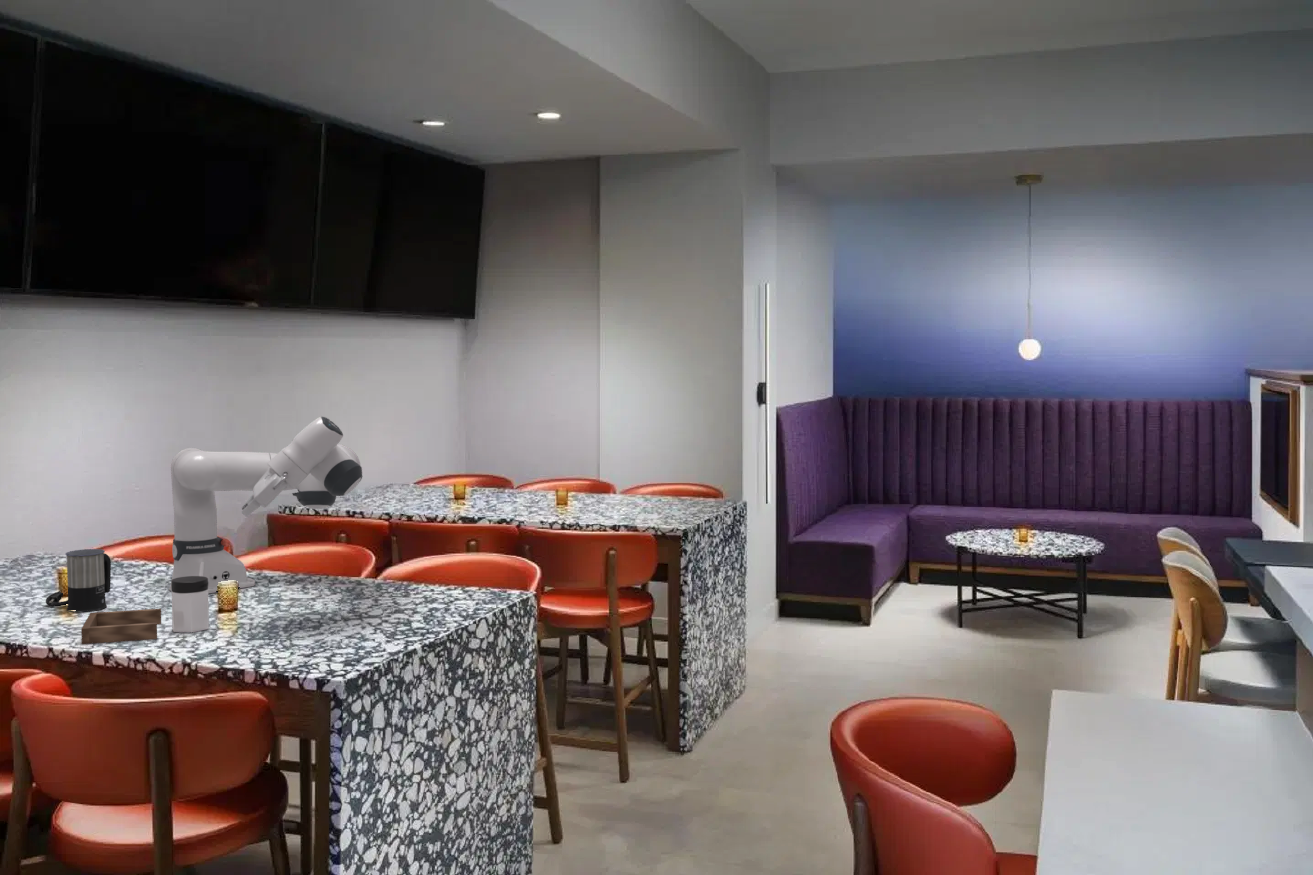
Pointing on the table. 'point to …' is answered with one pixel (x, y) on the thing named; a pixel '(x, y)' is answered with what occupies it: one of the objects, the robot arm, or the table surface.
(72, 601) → the milk frother
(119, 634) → the brown square open piece
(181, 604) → the jar
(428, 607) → the table surface
